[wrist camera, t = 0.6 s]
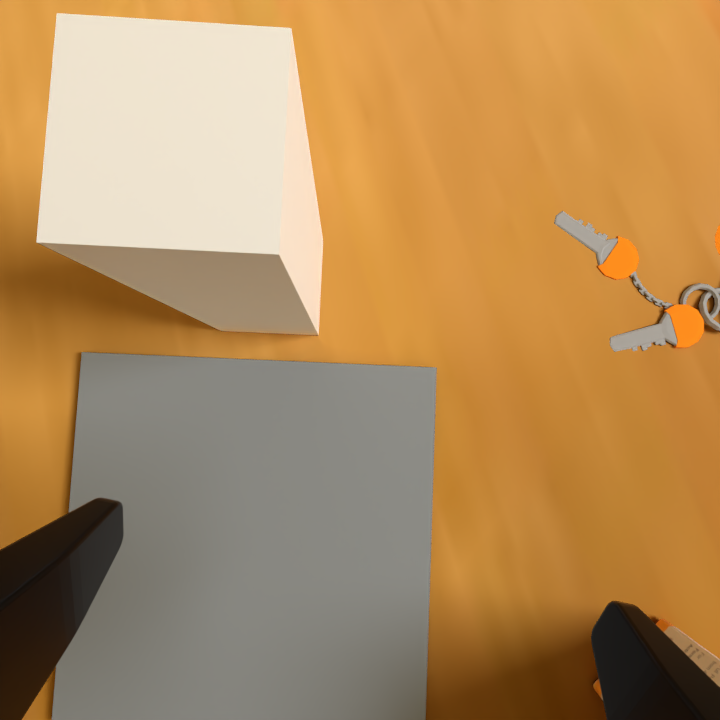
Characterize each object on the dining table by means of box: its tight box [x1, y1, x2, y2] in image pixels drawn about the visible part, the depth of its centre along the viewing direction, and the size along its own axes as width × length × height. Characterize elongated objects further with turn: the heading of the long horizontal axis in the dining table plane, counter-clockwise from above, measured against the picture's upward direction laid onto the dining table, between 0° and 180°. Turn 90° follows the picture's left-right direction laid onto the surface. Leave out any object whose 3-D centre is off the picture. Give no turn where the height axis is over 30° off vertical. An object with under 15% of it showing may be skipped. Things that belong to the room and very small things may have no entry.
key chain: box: [554, 211, 720, 352], centre depth 22 cm, size 13×7×1 cm, turn 89°
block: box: [36, 13, 323, 335], centre depth 15 cm, size 4×4×13 cm
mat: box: [52, 352, 437, 720], centre depth 21 cm, size 16×16×1 cm
